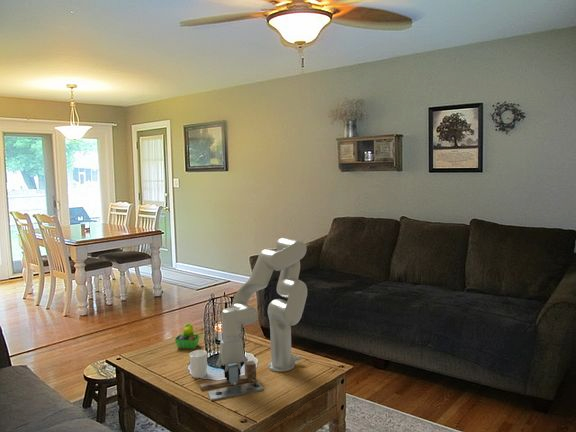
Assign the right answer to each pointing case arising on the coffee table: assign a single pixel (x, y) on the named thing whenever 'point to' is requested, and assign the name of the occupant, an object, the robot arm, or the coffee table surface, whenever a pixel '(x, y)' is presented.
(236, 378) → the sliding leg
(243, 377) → the beam
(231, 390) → the bolt plate
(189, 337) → the fruit basket
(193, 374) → the white cup
